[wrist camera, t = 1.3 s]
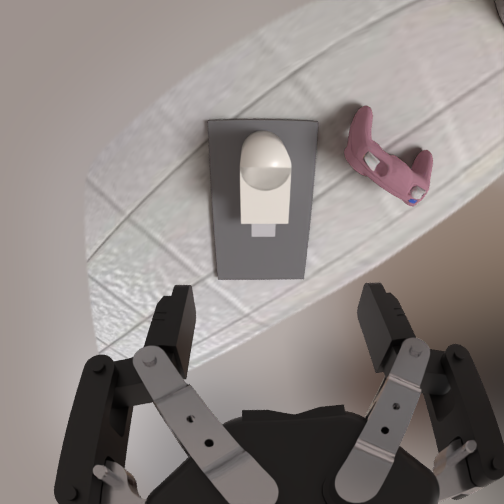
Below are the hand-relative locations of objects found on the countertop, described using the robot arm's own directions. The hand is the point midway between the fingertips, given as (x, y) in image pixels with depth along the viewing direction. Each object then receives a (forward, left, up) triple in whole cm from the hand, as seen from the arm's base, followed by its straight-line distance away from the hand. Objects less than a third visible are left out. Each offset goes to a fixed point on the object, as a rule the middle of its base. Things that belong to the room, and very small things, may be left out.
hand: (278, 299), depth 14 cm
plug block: (0, 0, -18) cm, 18 cm away
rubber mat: (+4, 0, -18) cm, 19 cm away
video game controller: (-3, +12, -18) cm, 22 cm away
